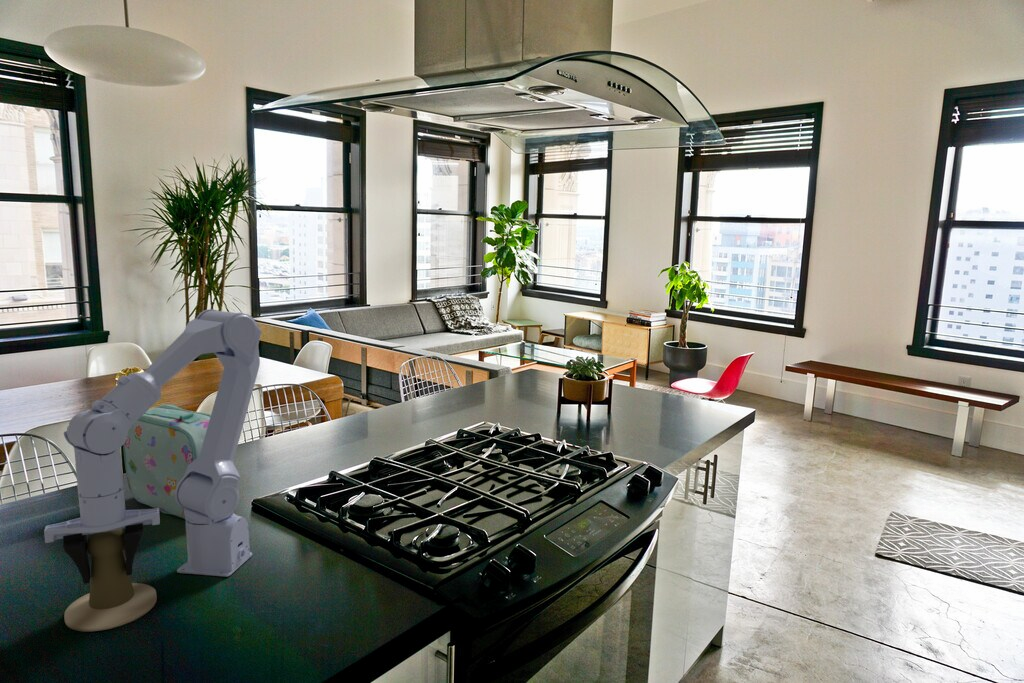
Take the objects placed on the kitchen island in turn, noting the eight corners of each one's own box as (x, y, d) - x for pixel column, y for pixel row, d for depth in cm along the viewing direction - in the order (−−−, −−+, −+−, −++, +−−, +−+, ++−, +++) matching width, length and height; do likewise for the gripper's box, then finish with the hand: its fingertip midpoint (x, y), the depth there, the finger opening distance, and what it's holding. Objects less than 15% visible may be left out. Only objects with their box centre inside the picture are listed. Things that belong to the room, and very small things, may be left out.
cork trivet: (173, 590, 106) (173, 586, 105) (120, 634, 94) (119, 629, 94) (105, 584, 107) (104, 580, 107) (44, 627, 95) (43, 622, 95)
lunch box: (246, 511, 136) (241, 411, 133) (202, 530, 127) (195, 423, 124) (167, 486, 149) (160, 394, 146) (121, 502, 140) (113, 404, 137)
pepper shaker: (123, 584, 106) (117, 519, 104) (141, 596, 102) (136, 529, 101) (81, 600, 101) (74, 533, 99) (99, 613, 98) (93, 544, 96)
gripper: (157, 474, 104) (163, 554, 106) (46, 489, 98) (55, 575, 100) (156, 489, 98) (163, 574, 100) (38, 506, 91) (47, 597, 94)
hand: (108, 576), depth 100 cm, fingers closed on pepper shaker, 5 cm apart
